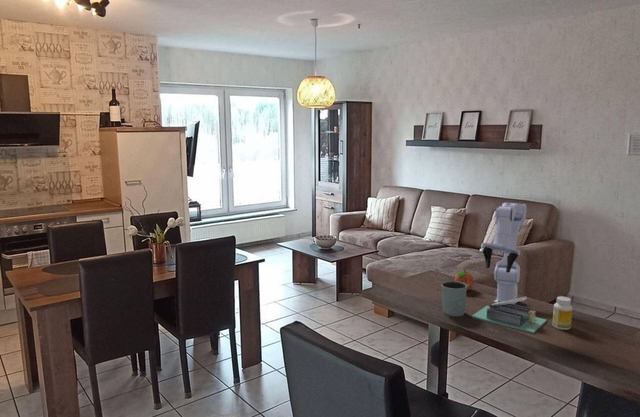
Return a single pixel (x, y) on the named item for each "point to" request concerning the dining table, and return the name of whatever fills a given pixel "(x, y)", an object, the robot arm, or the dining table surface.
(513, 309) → the heat sink
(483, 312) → the circuit board
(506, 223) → the robot arm
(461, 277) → the fruit
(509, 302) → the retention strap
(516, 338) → the dining table surface
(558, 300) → the supplement bottle
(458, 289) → the green cup
